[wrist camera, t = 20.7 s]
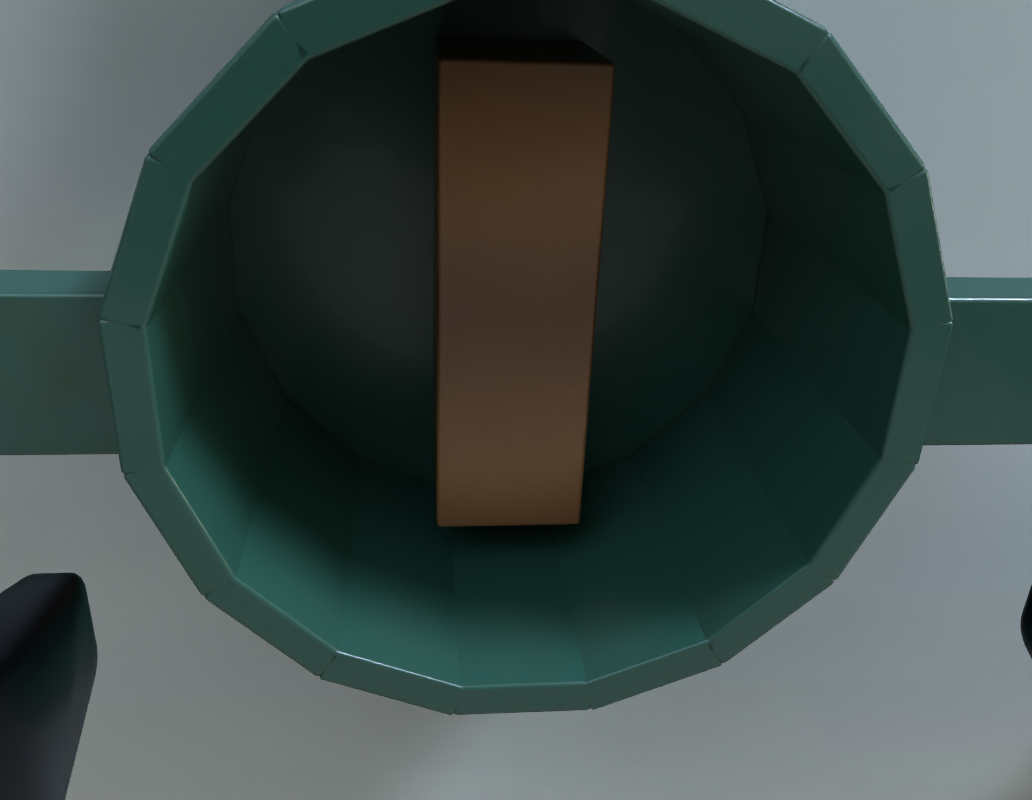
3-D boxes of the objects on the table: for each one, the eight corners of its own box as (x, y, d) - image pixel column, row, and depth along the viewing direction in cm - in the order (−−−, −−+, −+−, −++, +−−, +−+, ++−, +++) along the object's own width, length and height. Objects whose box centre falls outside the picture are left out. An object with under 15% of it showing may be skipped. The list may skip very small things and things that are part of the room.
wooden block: (559, 446, 20) (580, 525, 18) (434, 447, 20) (436, 528, 17) (584, 40, 17) (616, 62, 14) (434, 36, 17) (437, 57, 14)
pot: (858, 495, 22) (1014, 695, 16) (99, 507, 20) (-24, 735, 15) (980, -47, 17) (1262, -33, 11) (-5, -90, 16) (-250, -97, 10)
